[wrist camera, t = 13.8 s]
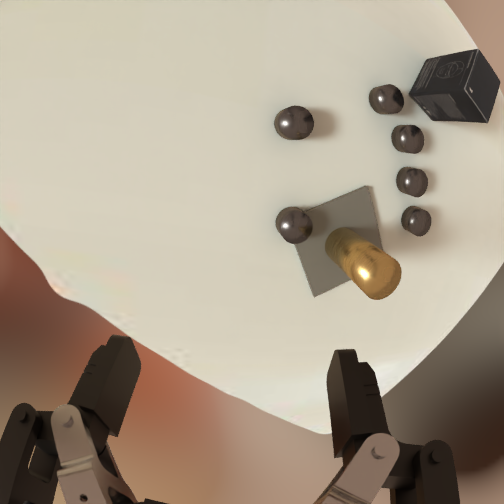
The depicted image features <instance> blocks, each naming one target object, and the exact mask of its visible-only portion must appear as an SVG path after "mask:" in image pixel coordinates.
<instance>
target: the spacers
mask: <svg viewBox="0 0 504 504" xmlns="http://www.w3.org/2000/svg"><path fill="white" fill-rule="evenodd" d="M369 102H370V105H371V107H372V108H373V110H374V111H376V112H377V113H379V114H394V113H398V112H400V111H401V110H402V108H403V105H404V99H403V95H402V93H401V91H400V90H399V89H398V88H397V87H396V86H394V85H391V84H388V85H383V86H379V87H375V88H373V89H372V90H371V91H370V94H369ZM274 126H275V129H276V131H277V133H278V134H279V135H280V136H281V137H283V138H285V139H288V140H300V139H304V138H306V137H307V136H309V135H310V133H311V132H312V130H313V127H314V121H313V117H312V115H311V113H310V112H309V111H308V110H307V109H305V108H304V107H301V106H291V107H288V108H286V109H284V110H282V111H280V112H279V113H278V114H277V115H276V117H275V121H274ZM391 138H392V143H393V146H394V147H395V148H396V149H397V150H398V151H400V152H405V153H412V154H416V153H419V152H420V151H421V150H422V148H423V145H424V136H423V133H422V131H421V130H420V129H419V128H418V127H417V126H415V125H398V126H396V127H395V128H394V130H393V131H392V136H391ZM396 183H397V187H398V189H399V190H400V191H401V192H402V193H405V194H408V195H411V196H414V197H420V196H422V195H423V194H424V193H425V191H426V189H427V186H428V179H427V176H426V174H425V173H424V171H422V170H420V169H415V168H411V167H403V168H402V169H401V170H400V171H399V172H398V174H397V178H396ZM401 222H402V226H403V228H404V229H405V230H407V231H409V232H411V233H413V234H414V235H416V236H423V235H425V234H426V233H427V232H428V230H429V229H430V226H431V216H430V214H429V213H428V212H427V211H425V210H423V209H421V208H418V207H415V206H409V207H408V208H406V209H405V211H404V212H403V215H402V219H401ZM276 228H277V230H278V232H279V233H280V234H281V235H282V237H283V238H284V239H285V240H286V241H287V242H289V243H292V244H299V243H302V242H304V241H306V240H307V239H308V238H309V237H310V235H311V233H312V230H313V224H312V221H311V219H310V217H309V216H308V215H307V214H305V213H304V212H303V211H301V210H300V209H298V208H296V207H287V208H285V209H283V210H282V211H281V212H280V213H279V214H278V216H277V218H276Z"/></svg>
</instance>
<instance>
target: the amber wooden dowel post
mask: <svg viewBox="0 0 504 504" xmlns="http://www.w3.org/2000/svg"><path fill="white" fill-rule="evenodd" d="M325 251H326V254H327V256H328V257H329V258H330V259H331V260H332V261H333V262H334V263H335V264H336V265H337V266H338V267H339V268H340V269H341V270H342V271H343V272H344V273H345V274H346V275H347V276H348V277H349V278H350V279H351V280H352V281H353V282H354V283H355V284H356V285H357V286H358V287H359V288H360V289H361V290H362V291H363V292H364V293H365V294H366V295H367V296H368V297H369V298H371V299H374V300H380V299H383V298H385V297H387V296H389V295H390V294H391V293H392V292H393V291H394V290H395V289H396V288H397V286H398V284H399V282H400V279H401V267H400V264H399V263H398V261H396V260H395V259H394V258H392V257H391V256H389V255H388V254H386V253H385V252H384V251H382V250H381V249H379V248H378V247H376V246H375V245H373V244H372V243H370V242H369V241H367V240H366V239H364V238H363V237H361V236H360V235H358V234H357V233H355V232H354V231H352V230H351V229H349V228H346V227H340V228H337V229H335V230H334V231H332V232H331V233H330V234H329V236H328V237H327V239H326V242H325Z"/></svg>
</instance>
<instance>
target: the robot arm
mask: <svg viewBox="0 0 504 504" xmlns="http://www.w3.org/2000/svg"><path fill="white" fill-rule="evenodd" d="M140 370H141V361H140V359H139V356H138V353H137V351H136V349H135V346H134V344H133V341H132V339H131V338H130V337H127V336H120V335H112V336H111V337H110V339H109V340H108V342H107V344H106V346H104V345H101V346H100V347H99V348H98V349H97V350H96V351H95V352H94V353H93V354H92V356H91V358H90V360H89V362H88V365H87V366H86V368H85V370H84V373H83V374H82V376H81V378H80V380H79V382H78V384H77V386H76V388H75V390H74V392H73V394H72V397H71V399H70V401H69V403H68V404H66V405H61V406H59V407H58V408H56V409H55V411H36V410H35V409H34V408H33V407H32V406H31V405H30V404H27V403H21V404H19V405H17V406H16V407H15V408H14V409H13V411H12V413H11V416H10V418H9V420H8V423H7V425H6V427H5V430H4V432H3V435H2V438H1V441H0V504H53V500H54V495H55V491H56V487H57V483H58V480H59V483H60V486H61V489H62V492H63V495H64V498H65V501H66V503H67V504H167V503H163V502H158V501H154V500H150V499H145V501H144V502H138V501H137V500H136V498H135V496H134V494H133V492H132V491H131V489H130V488H129V486H128V485H127V484H126V483H125V481H124V480H123V478H122V476H121V474H120V472H119V469H118V467H117V464H116V462H115V460H114V457H113V455H112V453H111V450H110V447H109V445H108V442H107V438H108V435H112V436H115V437H118V434H119V431H120V428H121V425H122V422H123V419H124V417H125V413H126V411H127V408H128V405H129V402H130V399H131V396H132V393H133V390H134V388H135V385H136V382H137V380H138V377H139V374H140ZM377 384H378V383H377V379H376V376H375V372H374V371H373V369H372V368H371V367H370V365H369V364H368V363H367V362H358V358H357V354H356V351H355V350H354V349H344V350H335V351H334V354H333V357H332V360H331V364H330V367H329V370H328V373H327V392H328V400H329V409H330V418H331V427H332V437H333V448H334V458H338V457H343V466H342V467H341V469H340V470H339V472H338V473H337V474H336V476H335V477H334V478H333V480H332V481H331V482H330V484H329V485H328V486H327V488H326V489H325V490H324V491H323V493H322V494H321V495H320V496H319V498H318V499H317V500H316V501H315V502H314V503H313V504H371V503H372V501H373V499H374V498H375V496H376V494H377V493H378V491H379V490H380V488H390V501H391V504H460V499H459V491H458V484H457V477H456V471H455V466H454V460H453V455H452V451H451V449H450V447H449V445H448V444H447V443H445V442H443V441H441V440H433V441H430V442H428V443H427V444H426V445H424V446H420V445H412V444H405V443H401V442H399V441H397V440H396V439H395V438H393V436H392V435H391V434H390V432H389V430H388V426H387V422H386V417H385V413H384V409H383V404H382V400H381V395H380V391H379V387H378V386H377ZM34 446H36V447H35V450H34V453H33V456H32V459H31V462H30V466H29V469H28V464H29V461H30V458H31V455H32V452H33V449H34Z"/></svg>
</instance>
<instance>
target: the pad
mask: <svg viewBox="0 0 504 504" xmlns="http://www.w3.org/2000/svg"><path fill="white" fill-rule="evenodd" d="M304 213H305V214H307V215H308V216H309V217H310V219H311V221H312V224H313V230H312V233H311V235H310V237H309V238H308V239H307V240H306V241H304V242H302V243H299V244H295V247H296V249H297V252H298V255H299V257H300V260H301V263H302V266H303V268H304V271H305V274H306V277H307V280H308V282H309V285H310V288H311V291H312V294H313V296H314V297H316V296H318V295H320V294H322V293H324V292H326V291H328V290H330V289H333V288H335V287H337V286H339V285H341V284H343V283H345V282H347V281H349V280H351V279H350V278H349V277H348V276H347V275H346V274H345V273H344V272H343V271H342V270H341V269H340V268H339V267H338V266H337V265H336V264H335V263H334V262H333V261H332V260H331V259H330V258H329V257H328V256H327V254H326V251H325V242H326V239H327V237H328V236H329V234H330V233H331V232H332V231H334V230H335V229H337V228H340V227H346V228H349V229H351V230H352V231H354V232H355V233H357V234H358V235H360V236H361V237H363V238H364V239H366V240H367V241H369V242H370V243H372V244H373V245H375V246H376V247H378V248H379V249H381V250H382V251H383V249H382V244H381V239H380V234H379V230H378V225H377V221H376V216H375V212H374V208H373V204H372V200H371V196H370V192H369V189H368V186H364V187H361V188H359V189H356V190H354V191H352V192H349V193H347V194H345V195H342V196H340V197H338V198H335V199H333V200H331V201H328V202H326V203H324V204H321V205H319V206H317V207H314V208H312V209H310V210H307V211H305V212H304Z"/></svg>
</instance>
